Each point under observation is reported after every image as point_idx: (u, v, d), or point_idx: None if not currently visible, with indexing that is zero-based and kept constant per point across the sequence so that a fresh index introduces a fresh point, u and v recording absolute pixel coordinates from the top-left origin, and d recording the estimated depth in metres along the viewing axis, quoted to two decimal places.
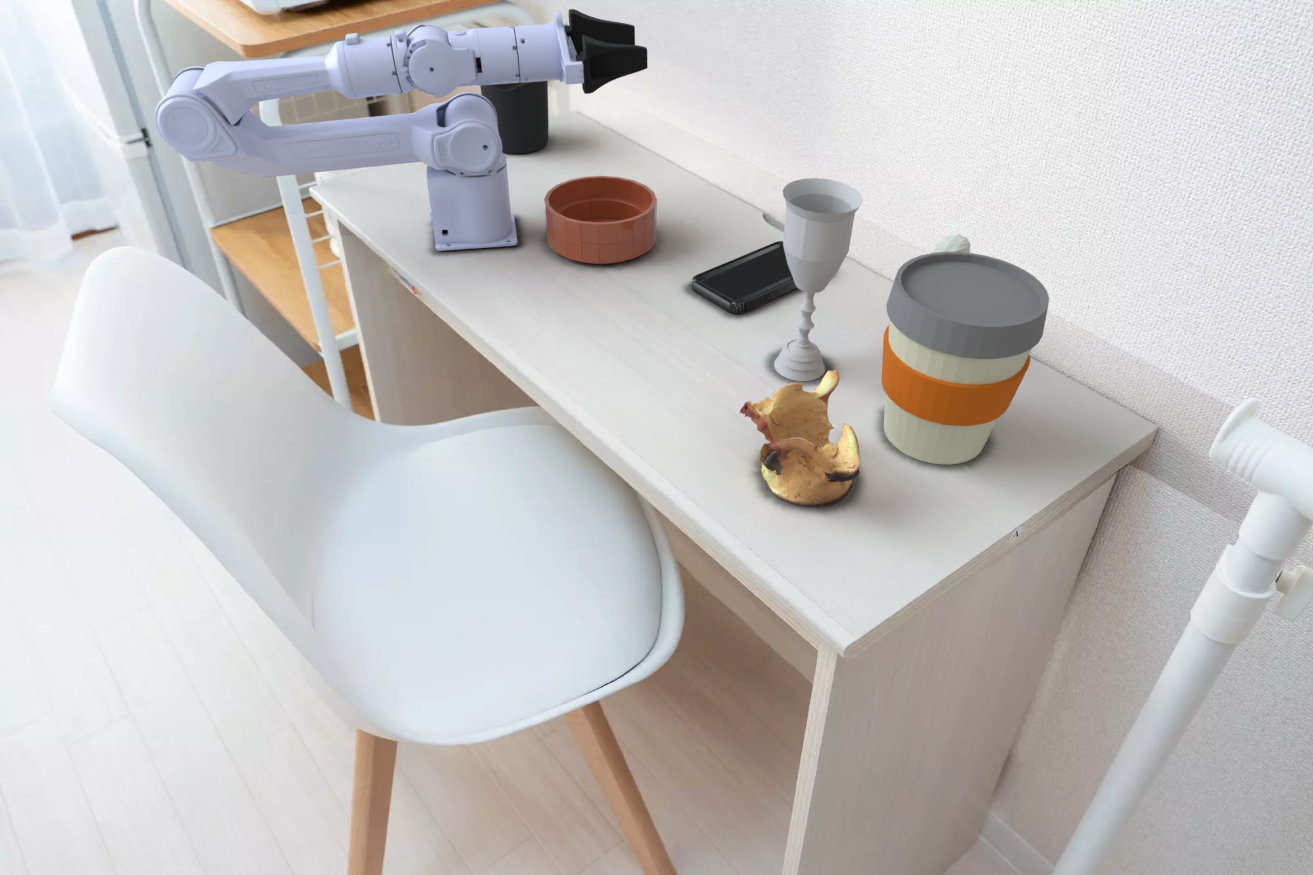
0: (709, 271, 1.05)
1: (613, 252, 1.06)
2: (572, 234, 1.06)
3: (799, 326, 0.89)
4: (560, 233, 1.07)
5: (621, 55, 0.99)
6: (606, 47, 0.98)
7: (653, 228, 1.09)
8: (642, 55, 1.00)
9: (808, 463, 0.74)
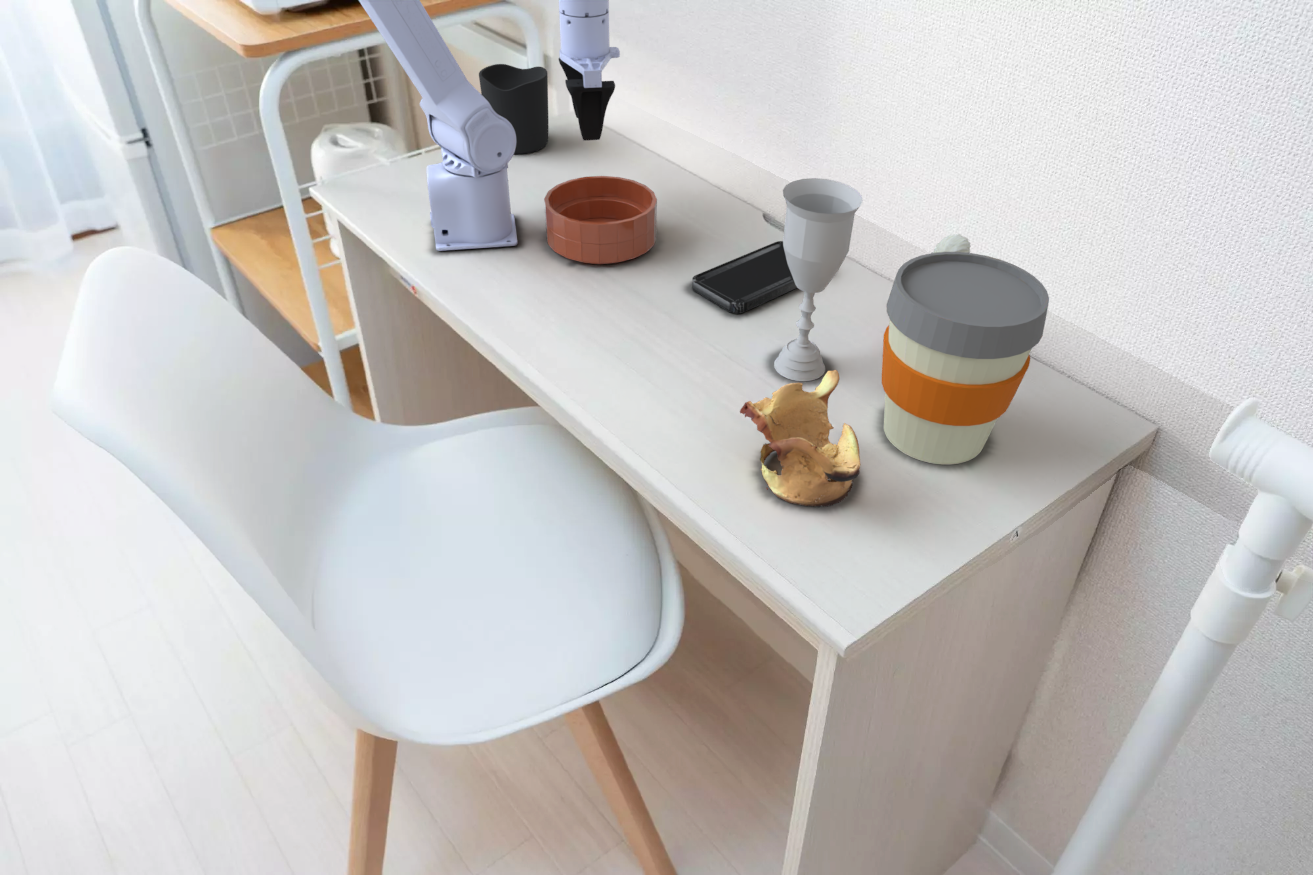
0: (709, 271, 1.05)
1: (613, 252, 1.06)
2: (572, 234, 1.06)
3: (799, 326, 0.89)
4: (560, 233, 1.07)
5: (596, 117, 1.11)
6: (606, 105, 1.09)
7: (653, 228, 1.09)
8: (595, 135, 1.12)
9: (808, 463, 0.74)
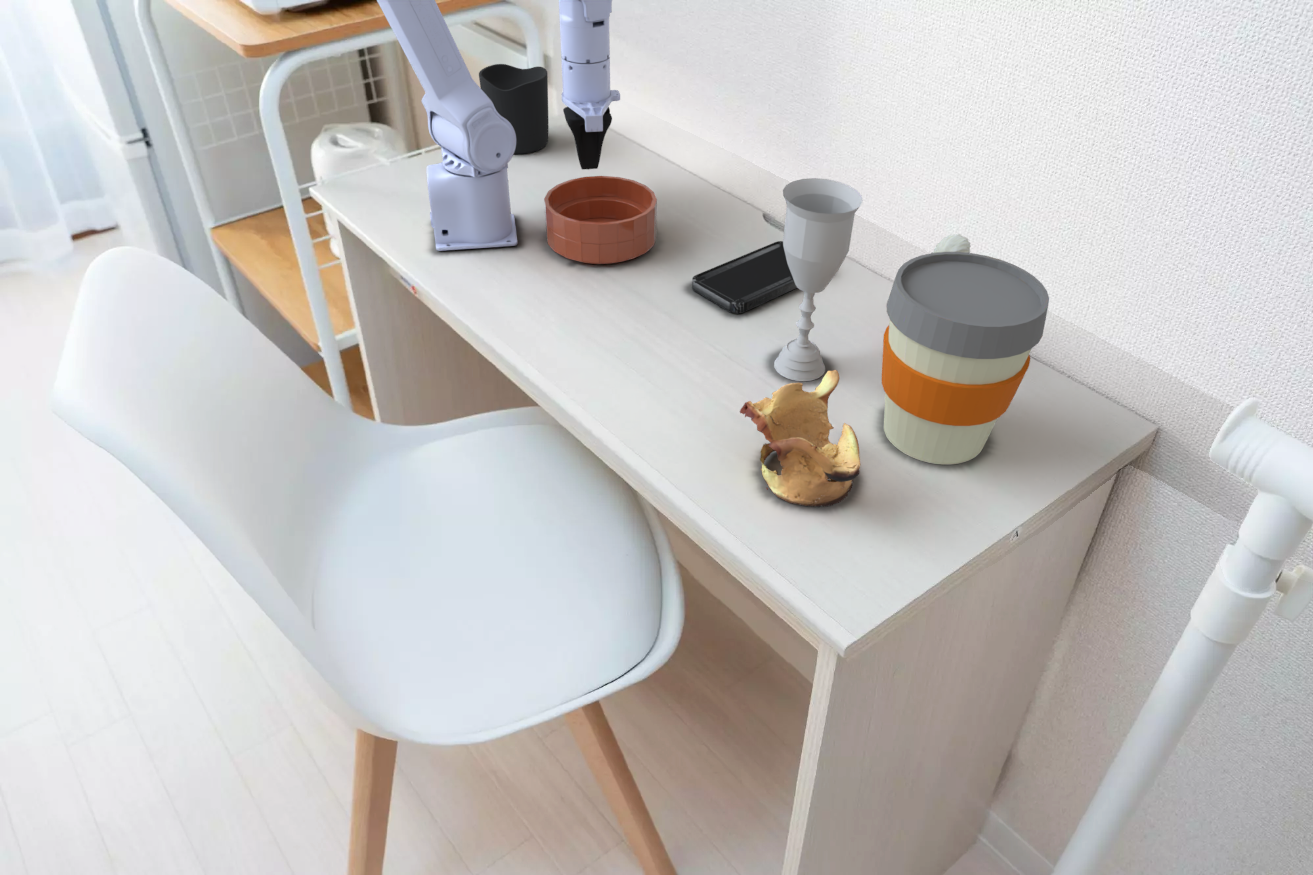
0: (709, 271, 1.05)
1: (613, 252, 1.06)
2: (572, 234, 1.06)
3: (799, 326, 0.89)
4: (560, 233, 1.07)
5: (594, 147, 1.16)
6: (604, 136, 1.15)
7: (653, 228, 1.09)
8: (593, 164, 1.18)
9: (808, 463, 0.74)
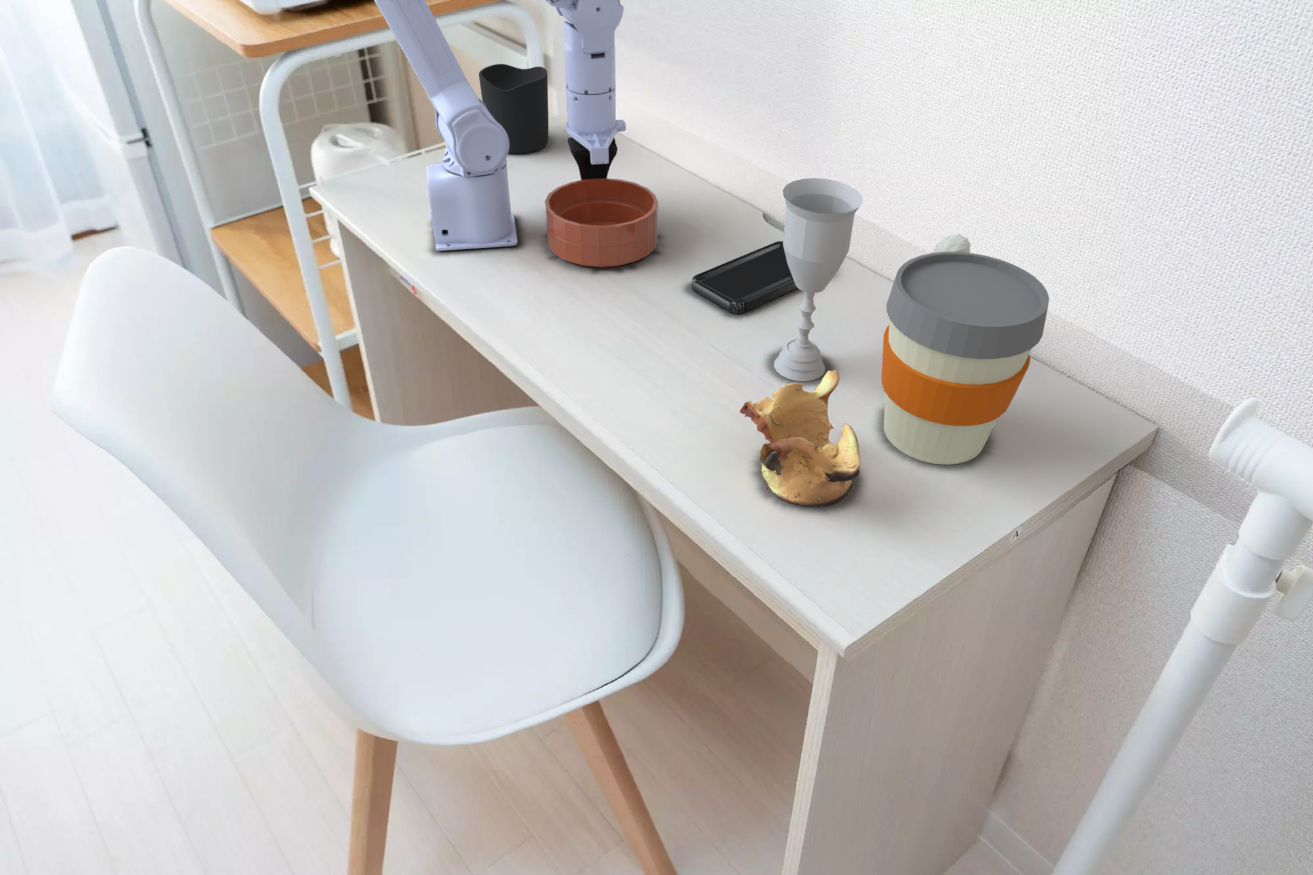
0: (709, 271, 1.05)
1: (614, 255, 1.06)
2: (573, 237, 1.05)
3: (799, 326, 0.89)
4: (561, 236, 1.06)
5: (599, 177, 1.14)
6: (609, 166, 1.13)
7: (654, 231, 1.09)
8: None
9: (808, 463, 0.74)
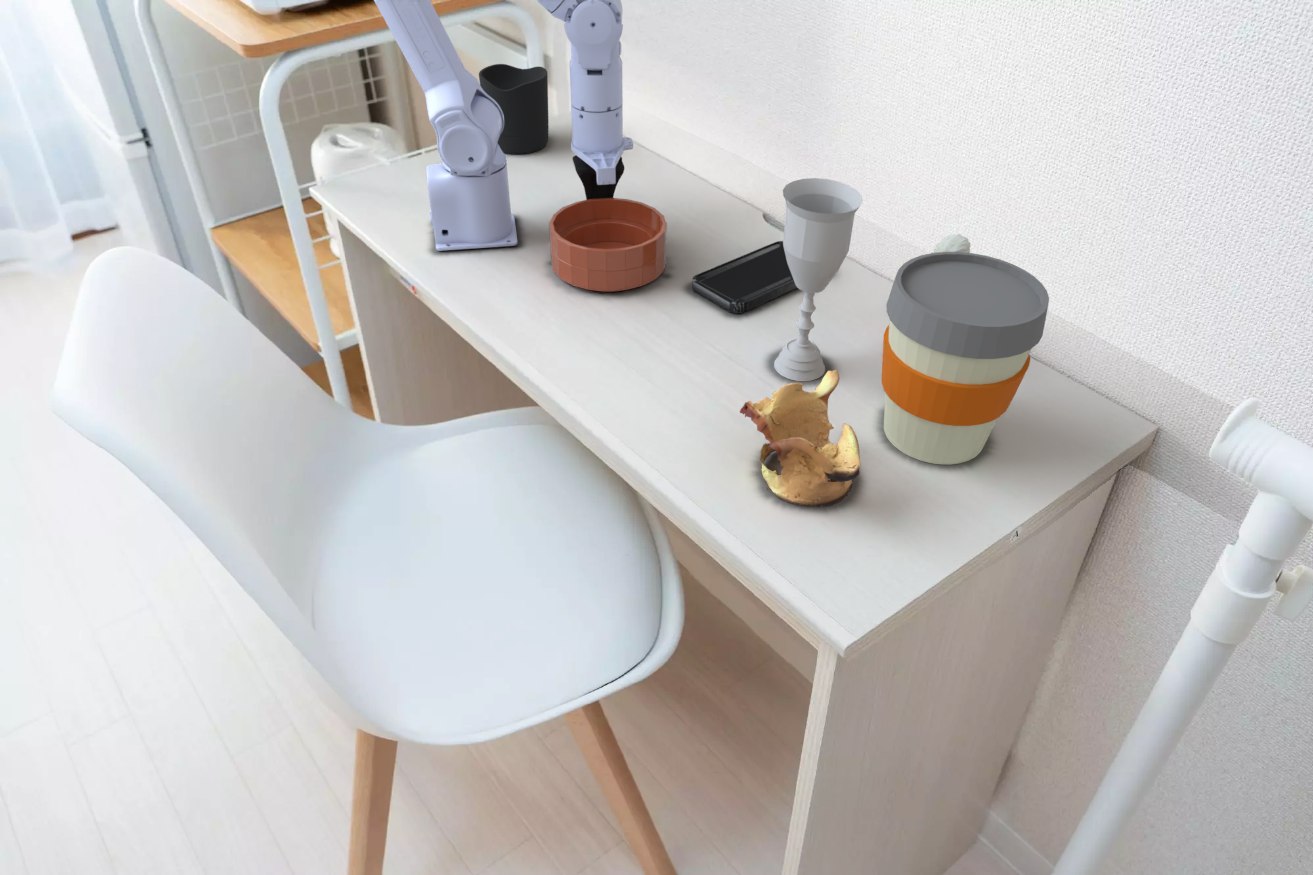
0: (709, 271, 1.05)
1: (621, 279, 1.02)
2: (578, 261, 1.01)
3: (799, 326, 0.89)
4: (566, 260, 1.02)
5: (605, 197, 1.10)
6: (615, 186, 1.08)
7: (663, 254, 1.04)
8: None
9: (808, 463, 0.74)
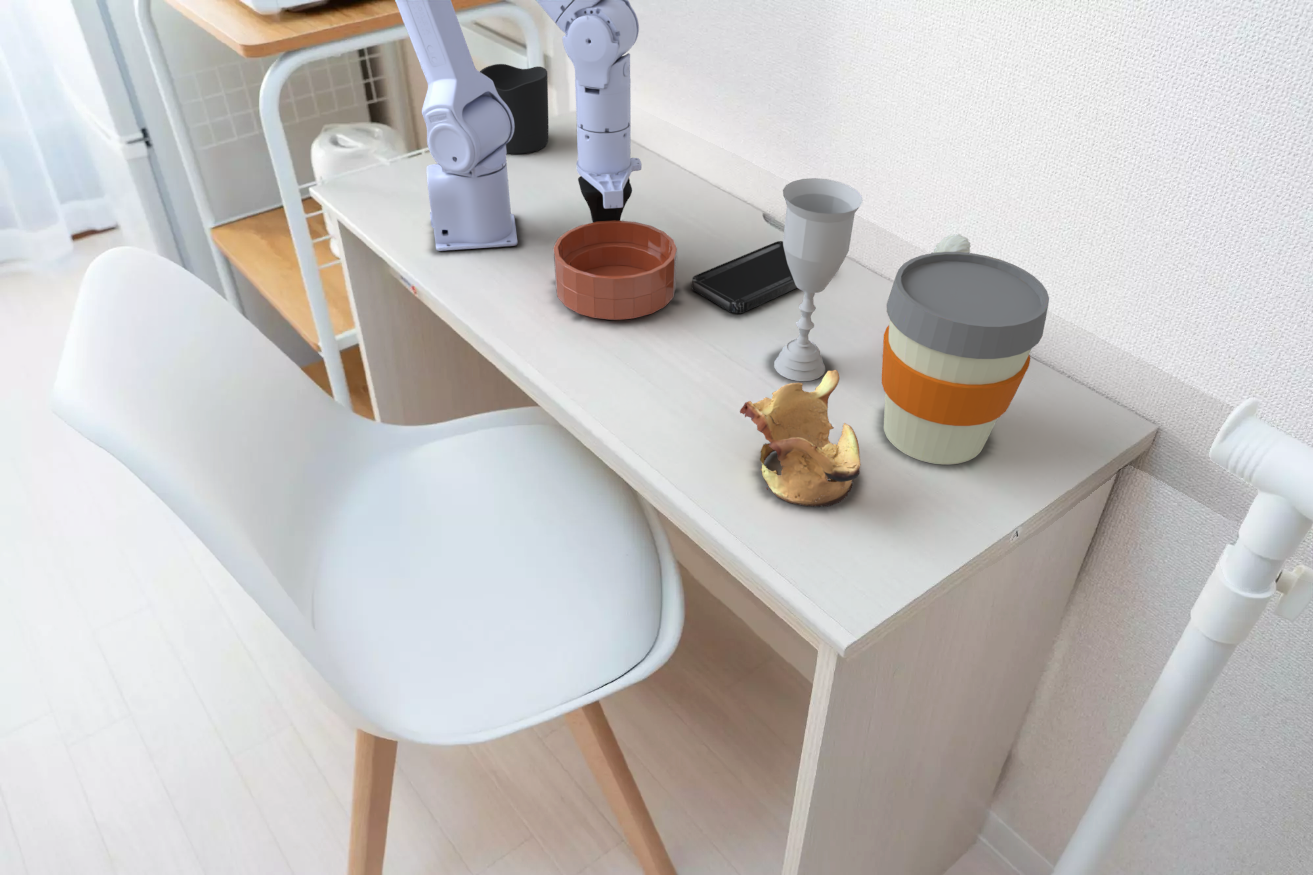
0: (709, 271, 1.05)
1: (629, 308, 0.97)
2: (584, 288, 0.96)
3: (799, 326, 0.89)
4: (571, 287, 0.97)
5: (611, 219, 1.05)
6: (623, 208, 1.04)
7: (672, 280, 1.00)
8: None
9: (808, 463, 0.74)
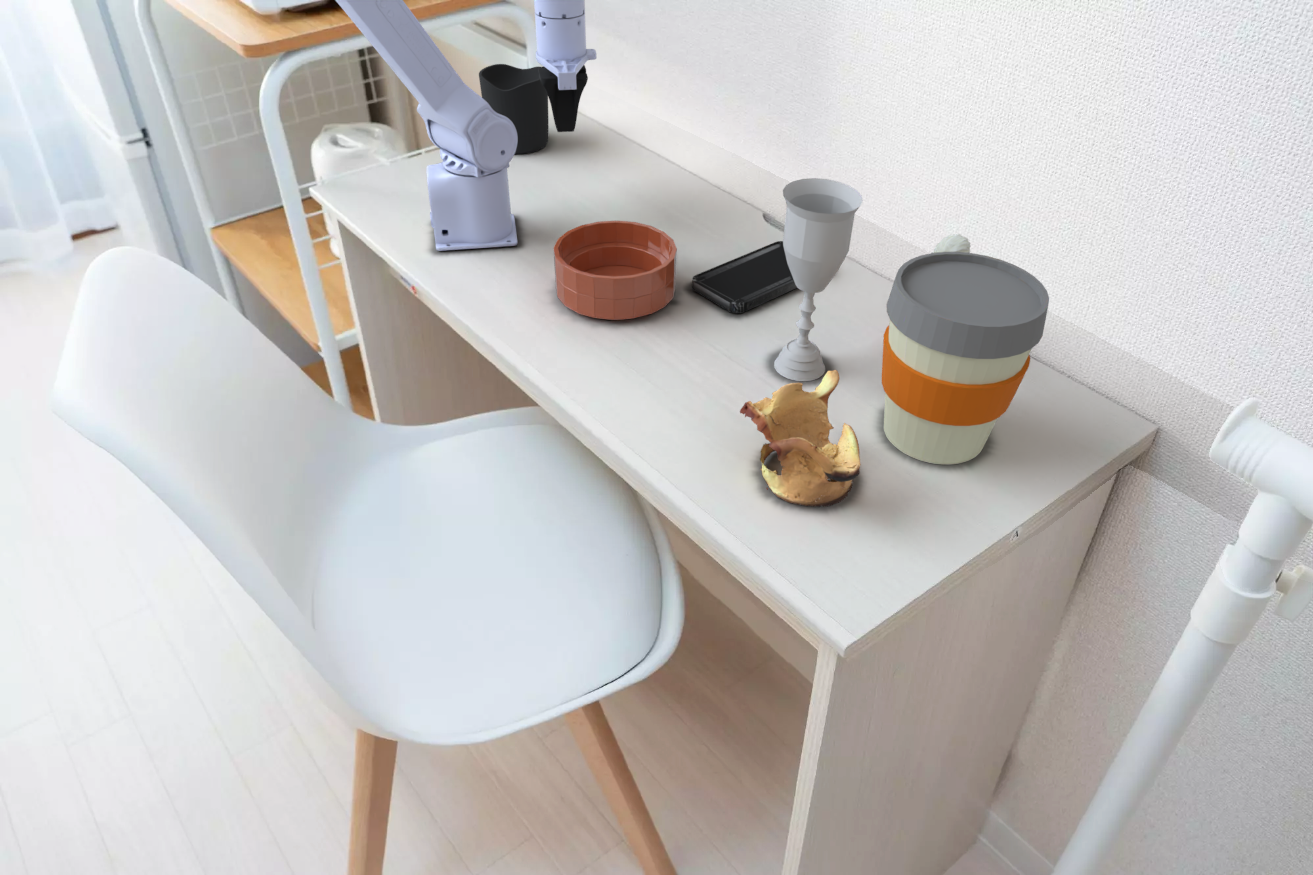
0: (709, 271, 1.05)
1: (629, 308, 0.97)
2: (584, 288, 0.96)
3: (799, 326, 0.89)
4: (571, 287, 0.97)
5: (570, 109, 1.13)
6: (579, 97, 1.11)
7: (672, 280, 1.00)
8: (569, 127, 1.14)
9: (808, 463, 0.74)
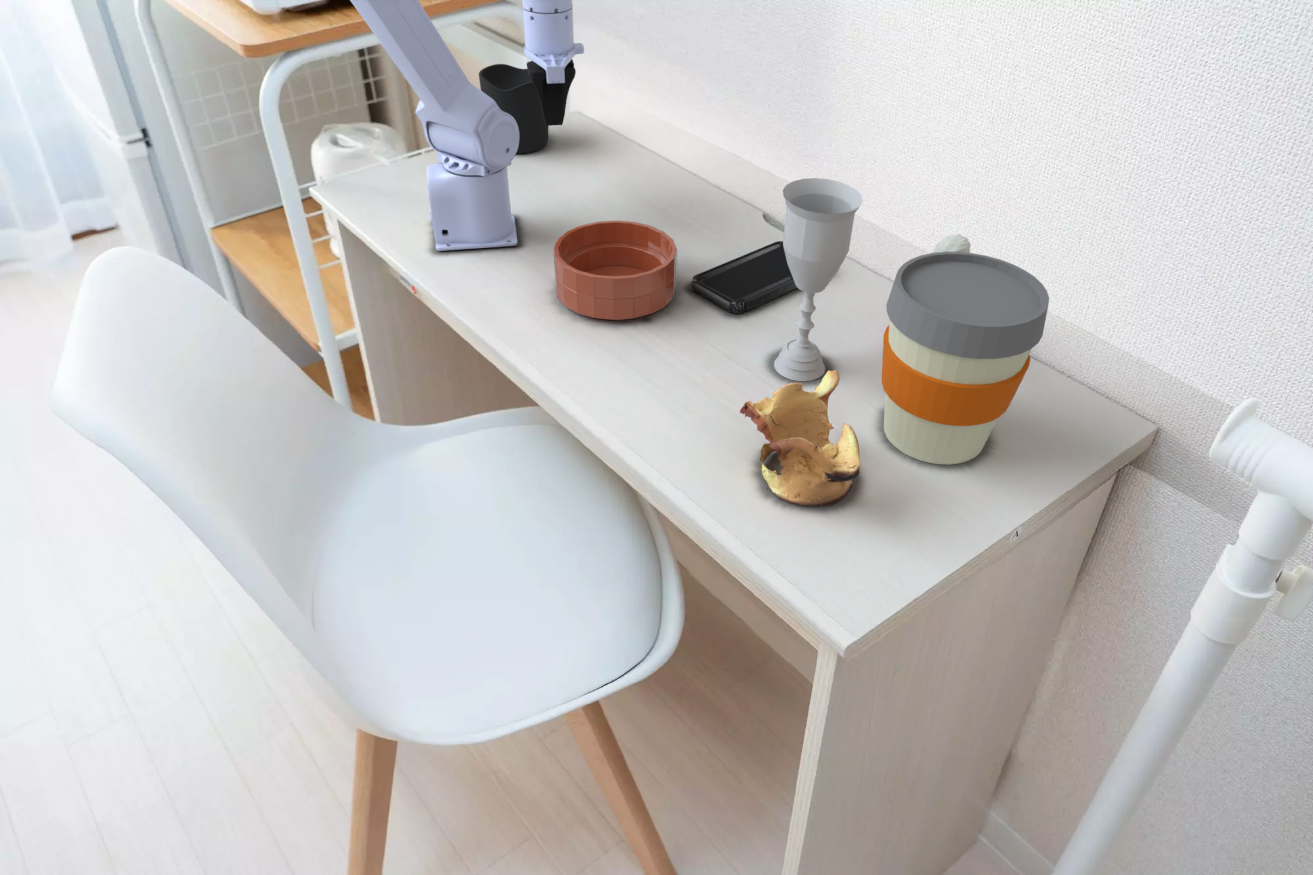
0: (709, 271, 1.05)
1: (629, 308, 0.97)
2: (584, 288, 0.96)
3: (799, 326, 0.89)
4: (571, 287, 0.97)
5: (558, 102, 1.14)
6: (568, 90, 1.13)
7: (672, 280, 1.00)
8: (557, 121, 1.16)
9: (808, 463, 0.74)
